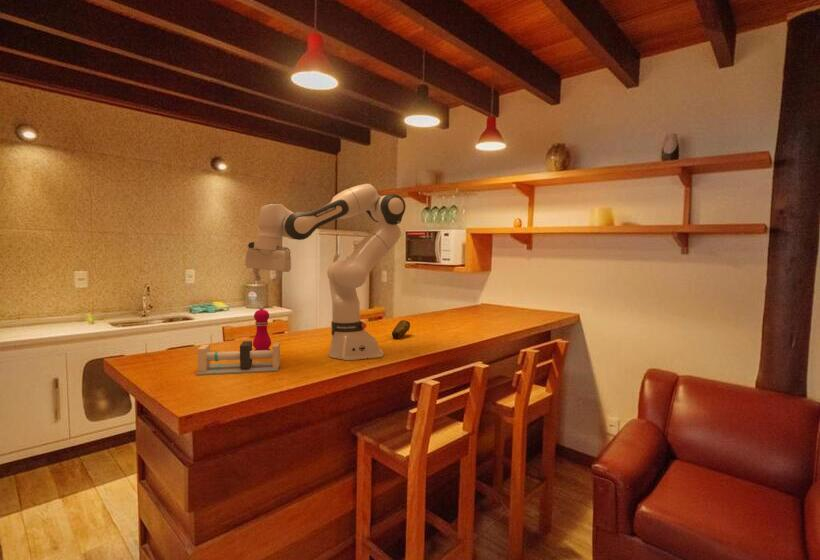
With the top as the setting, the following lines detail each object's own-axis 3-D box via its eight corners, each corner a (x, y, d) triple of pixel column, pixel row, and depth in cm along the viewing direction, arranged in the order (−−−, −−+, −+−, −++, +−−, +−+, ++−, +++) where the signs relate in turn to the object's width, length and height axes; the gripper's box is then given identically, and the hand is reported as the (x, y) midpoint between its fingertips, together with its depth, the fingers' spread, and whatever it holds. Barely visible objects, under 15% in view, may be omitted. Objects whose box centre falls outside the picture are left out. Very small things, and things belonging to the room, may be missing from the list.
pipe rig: (280, 362, 168) (280, 340, 167) (277, 371, 156) (277, 347, 155) (204, 366, 162) (204, 343, 161) (196, 375, 150) (195, 350, 150)
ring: (252, 362, 164) (251, 340, 163) (249, 368, 156) (248, 345, 155) (243, 362, 163) (243, 341, 162) (240, 368, 155) (239, 346, 155)
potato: (385, 337, 217) (385, 321, 216) (403, 334, 226) (403, 318, 225) (396, 340, 211) (396, 323, 210) (415, 336, 220) (415, 320, 219)
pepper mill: (265, 356, 177) (264, 307, 176) (249, 355, 179) (248, 306, 177) (274, 352, 184) (273, 305, 183) (258, 351, 186) (258, 304, 184)
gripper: (296, 247, 163) (293, 284, 164) (256, 244, 173) (253, 279, 173) (284, 246, 158) (281, 284, 158) (243, 243, 167) (241, 279, 167)
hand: (266, 282), depth 166 cm, fingers open, 8 cm apart
